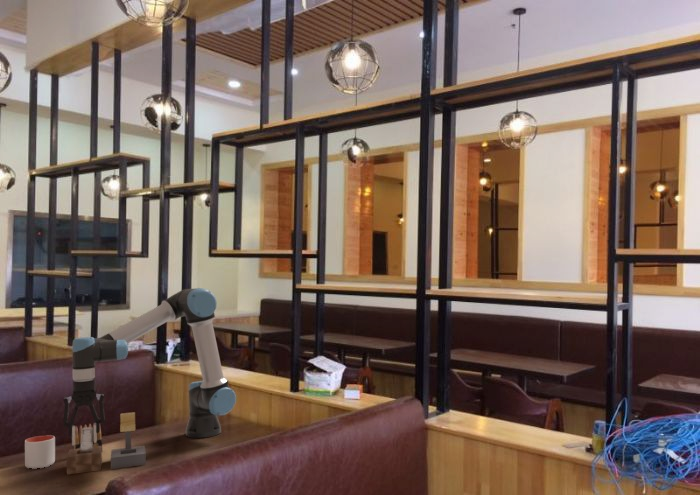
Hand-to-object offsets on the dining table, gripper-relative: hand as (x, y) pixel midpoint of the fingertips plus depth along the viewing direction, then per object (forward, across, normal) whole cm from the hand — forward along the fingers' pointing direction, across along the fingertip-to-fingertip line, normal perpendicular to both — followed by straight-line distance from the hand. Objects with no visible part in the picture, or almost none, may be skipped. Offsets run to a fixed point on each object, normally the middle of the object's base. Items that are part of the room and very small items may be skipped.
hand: (84, 443), depth 222 cm
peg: (+9, 0, 0) cm, 9 cm away
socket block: (+9, -15, 0) cm, 17 cm away
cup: (+9, +16, -11) cm, 22 cm away
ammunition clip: (+9, 0, -19) cm, 21 cm away
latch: (-6, -15, +9) cm, 18 cm away
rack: (+9, 0, 0) cm, 9 cm away
